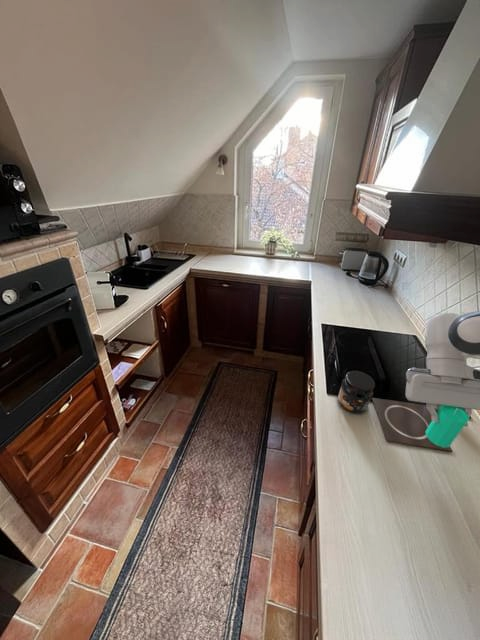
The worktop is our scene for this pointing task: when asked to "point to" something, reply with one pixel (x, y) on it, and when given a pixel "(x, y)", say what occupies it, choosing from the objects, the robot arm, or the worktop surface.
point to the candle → (447, 426)
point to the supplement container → (356, 392)
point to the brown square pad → (405, 423)
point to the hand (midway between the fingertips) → (449, 424)
